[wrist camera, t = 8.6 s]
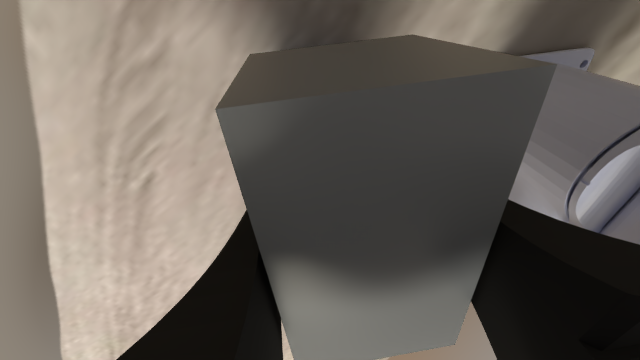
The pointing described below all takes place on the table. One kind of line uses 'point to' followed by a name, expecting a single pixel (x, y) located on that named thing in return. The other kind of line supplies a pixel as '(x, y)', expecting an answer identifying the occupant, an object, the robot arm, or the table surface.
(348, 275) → the grey rectangular box
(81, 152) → the table surface
